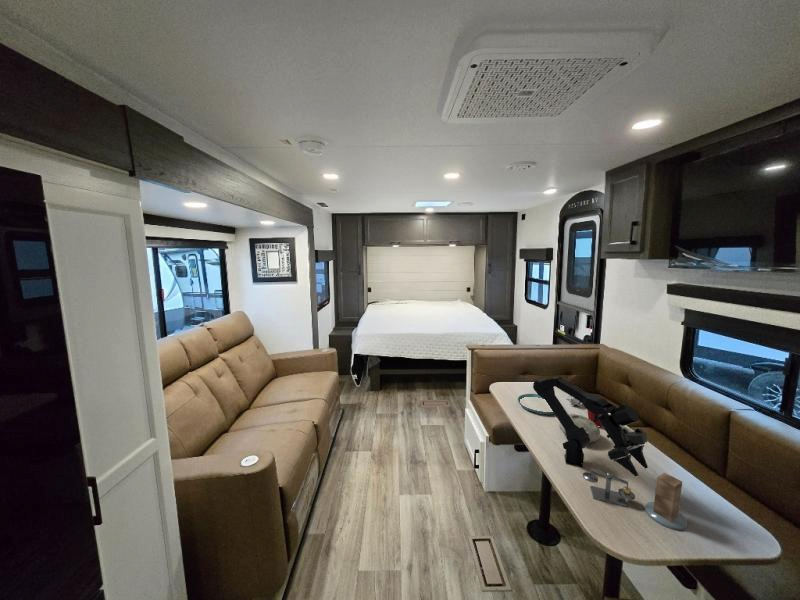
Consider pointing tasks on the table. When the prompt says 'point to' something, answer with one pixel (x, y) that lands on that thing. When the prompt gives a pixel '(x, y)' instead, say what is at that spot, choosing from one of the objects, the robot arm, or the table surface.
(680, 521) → the slate dish
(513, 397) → the table surface
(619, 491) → the balance
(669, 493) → the walnut block
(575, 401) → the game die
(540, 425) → the table surface
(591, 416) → the plastic cup
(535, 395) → the teal ring
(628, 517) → the table surface
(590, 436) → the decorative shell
